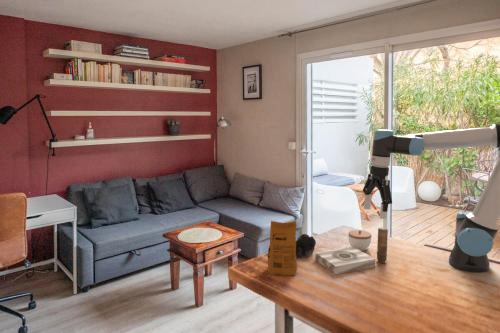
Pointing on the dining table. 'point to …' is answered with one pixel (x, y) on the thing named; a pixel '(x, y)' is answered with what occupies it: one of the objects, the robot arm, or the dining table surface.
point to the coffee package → (282, 249)
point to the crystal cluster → (305, 246)
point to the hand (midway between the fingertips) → (374, 213)
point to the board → (344, 260)
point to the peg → (382, 245)
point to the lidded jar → (360, 239)
